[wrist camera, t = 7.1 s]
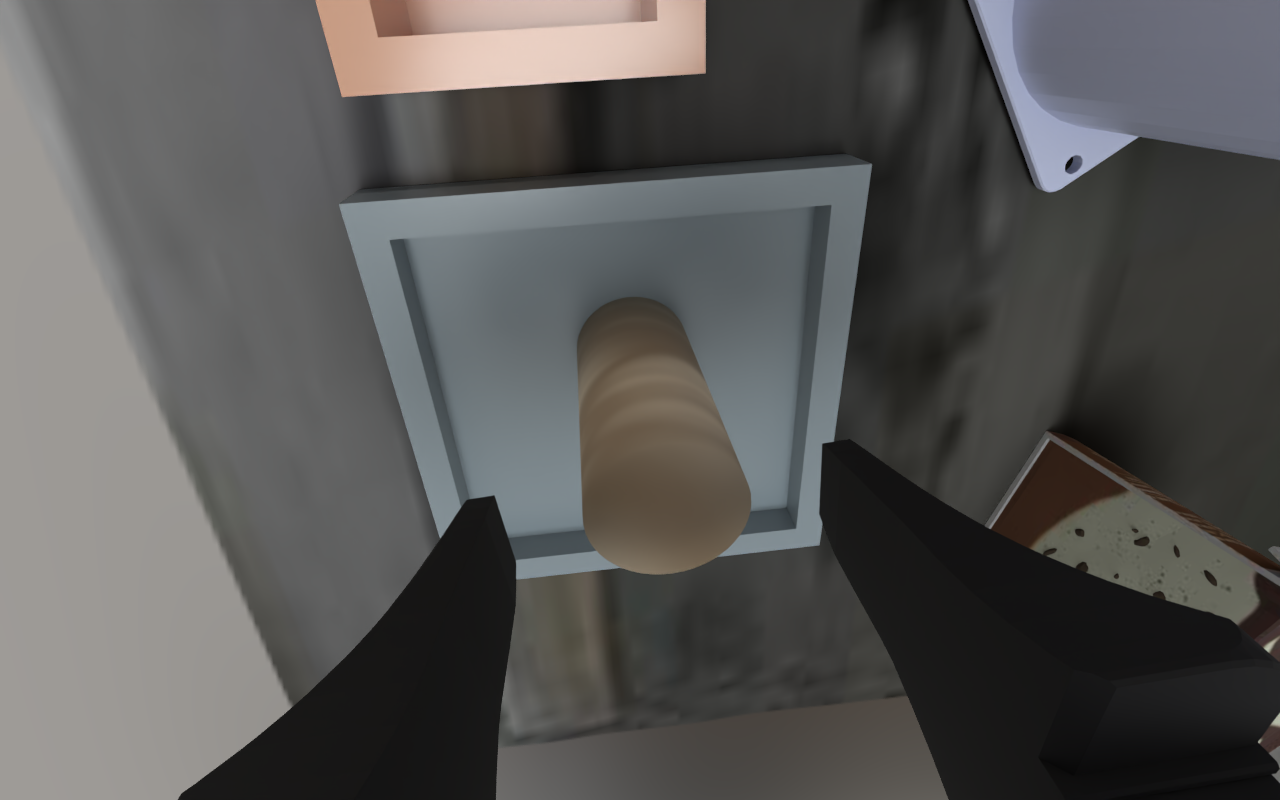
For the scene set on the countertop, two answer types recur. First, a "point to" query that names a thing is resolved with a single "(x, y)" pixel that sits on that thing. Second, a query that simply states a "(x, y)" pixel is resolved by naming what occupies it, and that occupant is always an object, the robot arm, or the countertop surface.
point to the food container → (1139, 542)
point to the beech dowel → (653, 444)
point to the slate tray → (585, 281)
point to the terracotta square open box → (508, 42)
